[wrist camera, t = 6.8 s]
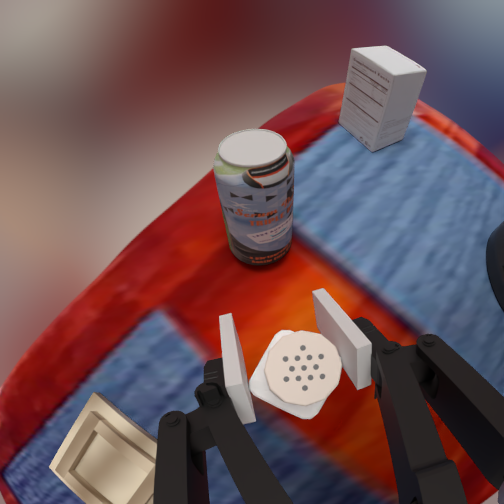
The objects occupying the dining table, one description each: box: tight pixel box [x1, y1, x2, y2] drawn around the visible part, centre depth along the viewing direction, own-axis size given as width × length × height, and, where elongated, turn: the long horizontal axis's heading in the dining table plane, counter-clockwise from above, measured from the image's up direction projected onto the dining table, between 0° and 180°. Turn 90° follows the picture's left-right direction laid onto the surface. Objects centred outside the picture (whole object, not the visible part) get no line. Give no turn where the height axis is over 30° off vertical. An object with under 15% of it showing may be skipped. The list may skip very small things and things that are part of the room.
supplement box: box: [339, 46, 427, 152], centre depth 33 cm, size 7×7×13 cm
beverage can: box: [213, 129, 294, 265], centre depth 25 cm, size 6×7×12 cm
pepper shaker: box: [249, 330, 342, 419], centre depth 15 cm, size 4×4×10 cm
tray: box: [49, 392, 157, 504], centre depth 18 cm, size 11×11×2 cm
